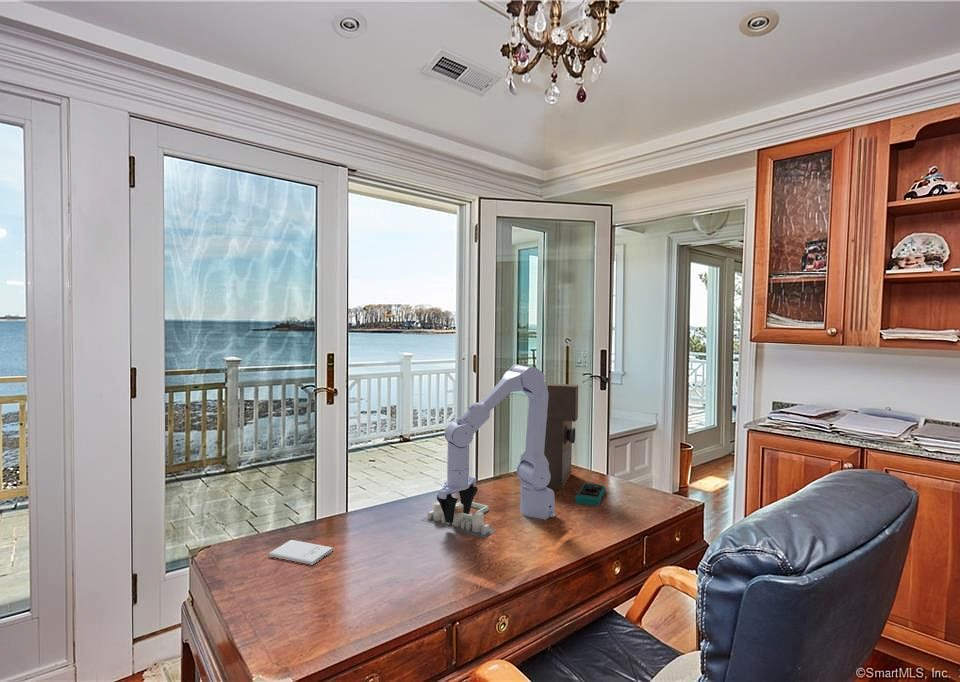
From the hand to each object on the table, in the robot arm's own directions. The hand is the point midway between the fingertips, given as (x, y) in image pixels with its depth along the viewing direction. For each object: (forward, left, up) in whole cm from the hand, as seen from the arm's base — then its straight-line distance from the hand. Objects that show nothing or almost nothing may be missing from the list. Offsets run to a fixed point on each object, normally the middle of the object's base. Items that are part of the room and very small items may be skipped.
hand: (457, 517), depth 138 cm
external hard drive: (+22, +33, -4) cm, 40 cm away
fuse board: (0, 0, -3) cm, 3 cm away
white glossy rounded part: (+6, 0, -2) cm, 7 cm away
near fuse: (-7, 0, -2) cm, 7 cm away
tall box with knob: (-4, -54, -4) cm, 54 cm away
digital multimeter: (-21, -45, -4) cm, 50 cm away
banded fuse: (0, 0, -2) cm, 2 cm away
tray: (+3, -10, -3) cm, 11 cm away
